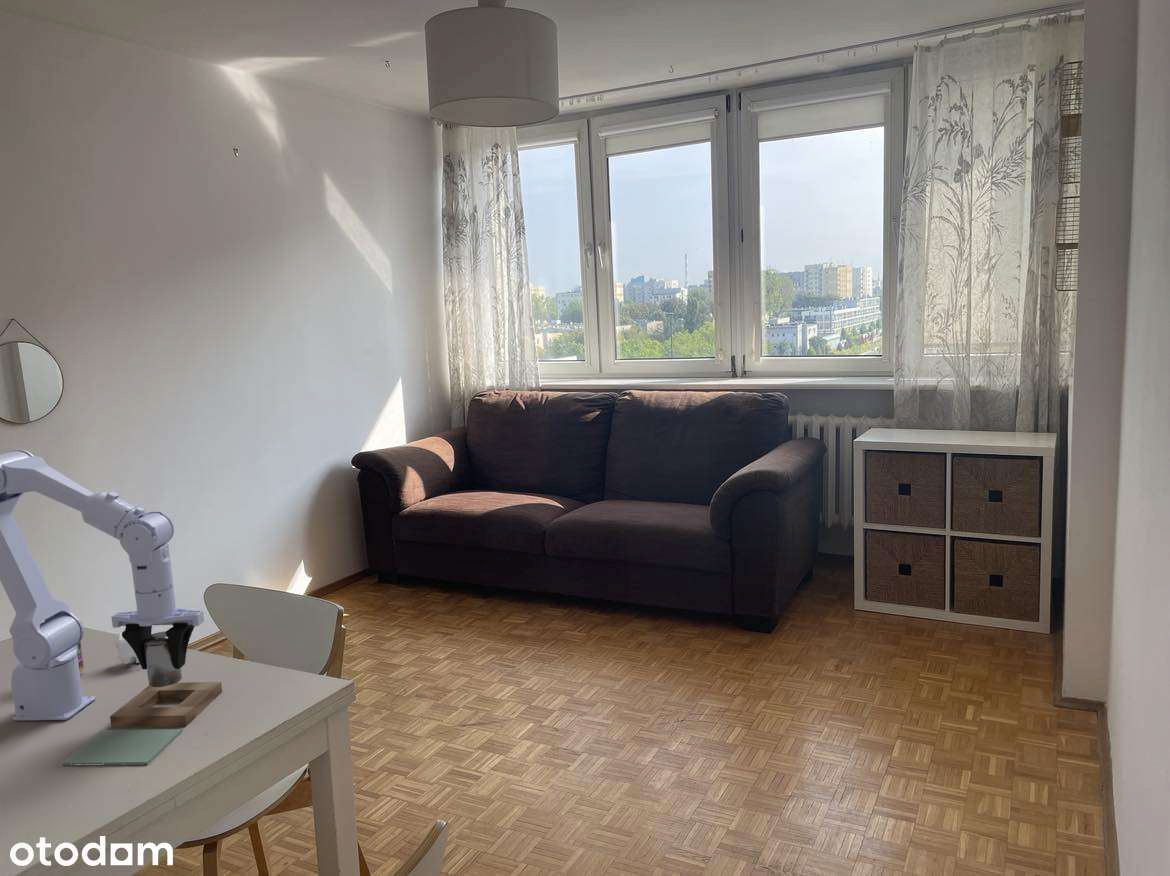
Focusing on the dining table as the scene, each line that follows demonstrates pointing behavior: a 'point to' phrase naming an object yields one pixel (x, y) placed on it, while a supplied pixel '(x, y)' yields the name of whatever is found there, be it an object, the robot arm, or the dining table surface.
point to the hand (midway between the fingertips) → (163, 666)
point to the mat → (123, 747)
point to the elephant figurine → (125, 650)
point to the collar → (146, 715)
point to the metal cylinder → (160, 661)
